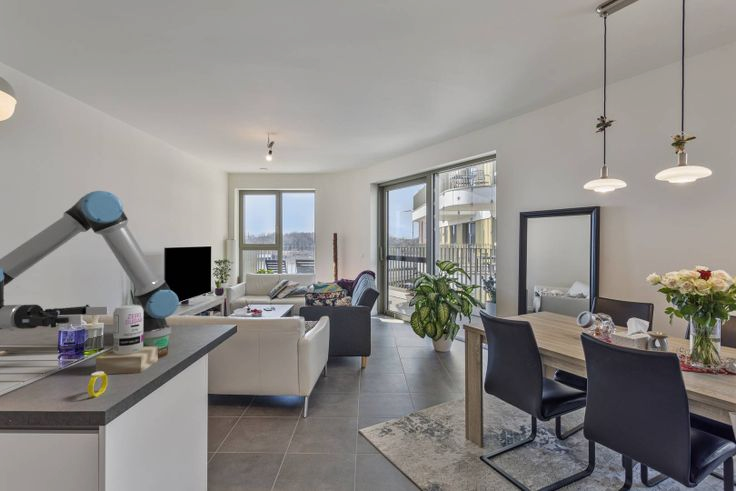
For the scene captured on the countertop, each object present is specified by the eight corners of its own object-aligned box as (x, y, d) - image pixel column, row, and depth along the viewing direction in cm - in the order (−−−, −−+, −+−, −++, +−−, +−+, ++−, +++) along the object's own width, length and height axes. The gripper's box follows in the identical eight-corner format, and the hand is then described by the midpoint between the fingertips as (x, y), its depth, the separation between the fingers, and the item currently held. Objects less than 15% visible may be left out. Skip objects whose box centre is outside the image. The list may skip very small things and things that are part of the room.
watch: (95, 400, 93) (94, 378, 93) (84, 400, 93) (83, 378, 93) (110, 389, 99) (109, 368, 99) (100, 389, 99) (99, 368, 99)
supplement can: (125, 348, 122) (125, 304, 121) (148, 348, 121) (148, 304, 121) (106, 355, 113) (107, 308, 113) (132, 355, 113) (132, 308, 113)
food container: (153, 362, 122) (153, 333, 122) (138, 360, 124) (138, 332, 124) (179, 351, 134) (179, 325, 134) (165, 350, 136) (165, 324, 136)
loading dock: (117, 361, 122) (117, 346, 122) (157, 360, 124) (157, 345, 124) (95, 374, 111) (95, 357, 111) (140, 372, 112) (141, 356, 112)
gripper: (51, 319, 125) (116, 317, 128) (-15, 339, 100) (69, 336, 103) (50, 298, 125) (116, 297, 128) (-15, 312, 100) (68, 310, 103)
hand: (95, 314), depth 116 cm, fingers open, 13 cm apart
